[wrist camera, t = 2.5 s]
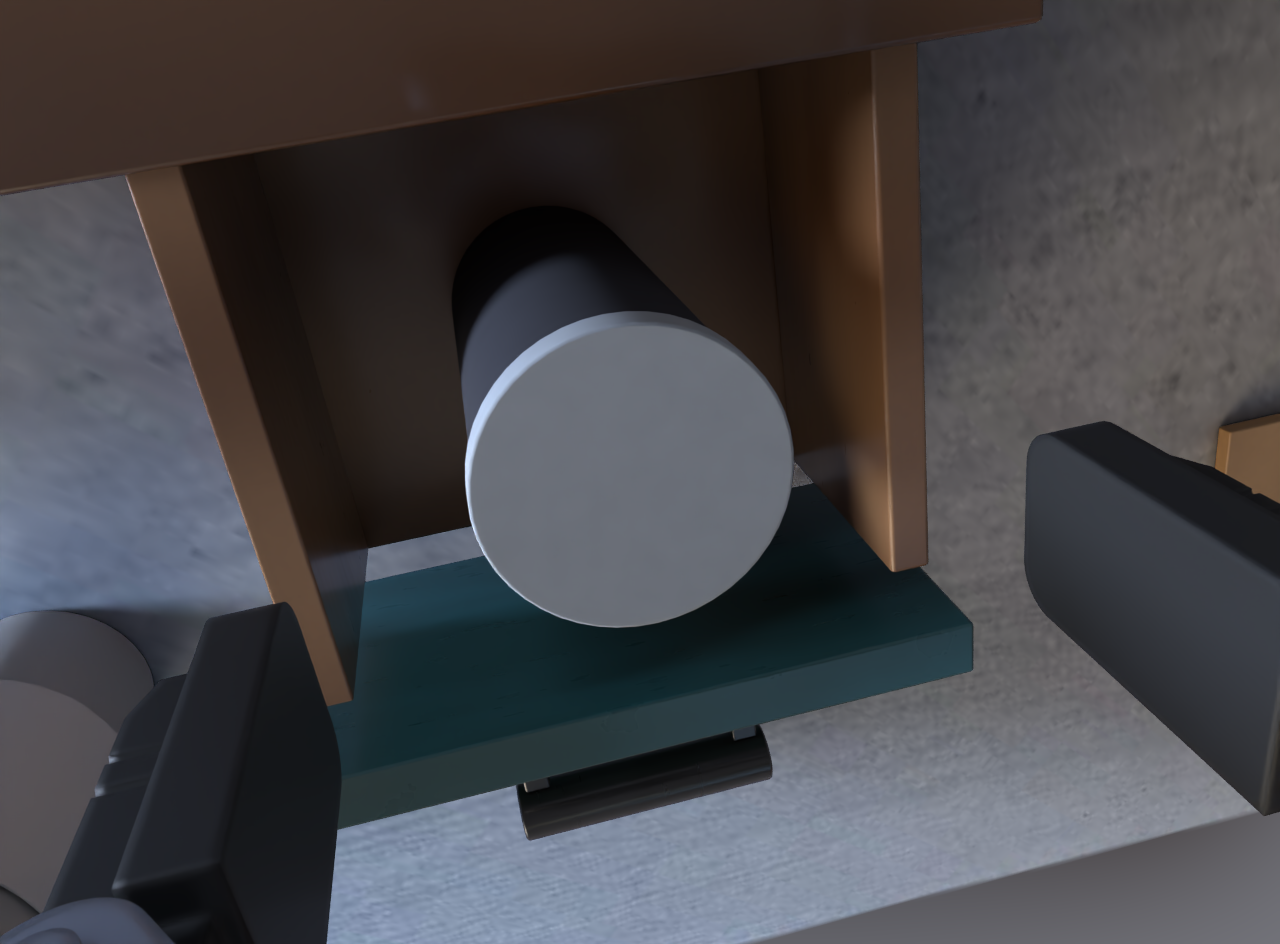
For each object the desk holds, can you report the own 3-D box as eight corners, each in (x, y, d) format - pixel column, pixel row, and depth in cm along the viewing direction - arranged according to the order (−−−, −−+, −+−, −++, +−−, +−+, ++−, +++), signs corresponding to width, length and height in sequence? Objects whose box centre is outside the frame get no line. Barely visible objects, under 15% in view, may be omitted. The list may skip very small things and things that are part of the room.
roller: (630, 183, 22) (782, 292, 13) (658, 376, 23) (806, 589, 14) (426, 220, 21) (432, 360, 12) (470, 414, 23) (503, 661, 14)
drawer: (847, 643, 29) (974, 825, 22) (374, 759, 27) (360, 991, 21) (796, -149, 21) (975, -234, 14) (113, -54, 19) (-50, -100, 12)
